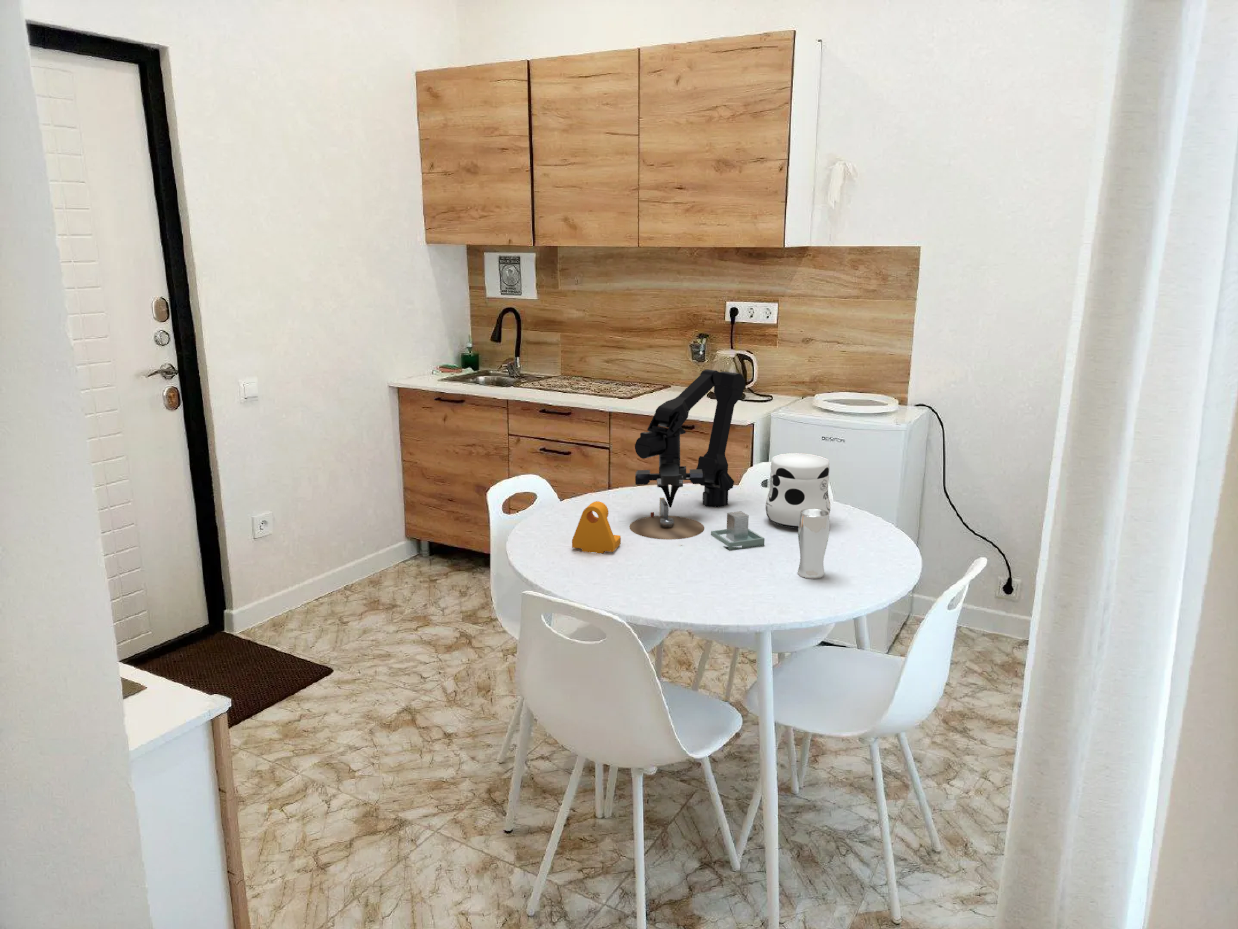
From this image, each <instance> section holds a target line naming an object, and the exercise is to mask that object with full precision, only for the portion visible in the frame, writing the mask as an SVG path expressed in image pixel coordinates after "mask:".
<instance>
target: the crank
mask: <svg viewBox="0 0 1238 929" xmlns="http://www.w3.org/2000/svg"><path fill="white" fill-rule="evenodd" d="M658 514H659V515H658V516H660V517H661V519H660V526H662V527H673V526H674V519H673V518H668V516H669V505H668V502H667V499H666V497H659V512H658Z"/></svg>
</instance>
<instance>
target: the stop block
mask: <svg viewBox="0 0 1238 929" xmlns="http://www.w3.org/2000/svg"><path fill="white" fill-rule="evenodd" d="M726 529H727V533H726V534H725V535H726V538H727V539H729V540H730V541H731V542H736V541H743V540H748V529H749V515H748V514H747V513H745V512H743V511H742V510H739V511H733V512H732V511H731V512H726Z"/></svg>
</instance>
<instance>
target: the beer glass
mask: <svg viewBox="0 0 1238 929" xmlns="http://www.w3.org/2000/svg"><path fill="white" fill-rule="evenodd" d="M797 537H798V538H797V539H798V548H799V557H800V558H799V560H800V561H799V565H798V570H797V574H798V576H799V577H802V578H804V577H805V579H808V578H809V580H817V579H818V578H819V579H822V578H824V577H825V574H826V573H825V565H824V560H825V554H826V549H827V546H828V542H829V539H830V538H829V537H830V514H829V512H828V511H825V510H822V509H815V508H808V509H803V510H801V511H800V517H799V525H798V528H797ZM821 577H822V578H821Z"/></svg>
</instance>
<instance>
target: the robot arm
mask: <svg viewBox="0 0 1238 929" xmlns="http://www.w3.org/2000/svg"><path fill="white" fill-rule="evenodd" d="M745 386H746V379H745V378H744V375H743V374H742V373H738V372H731V371H723V370H722V371H718V370H713V369H709V368H706V369H704V370H702V371H701V373H700V374H699V375H698V376H697V377H696V378H695V379H694V381H692V382H691V383H690V384H689V385H688V386H687V387H686V388H685V389H684V390H683V391H682V392H681V393H680V394H678V395H677V396H676V397H675V398H673V399H670V400H666V401H665V402H663V403H662V404H660V405H658V406H657V407H656V409H655V411H654V415H653V416H652V419H651V421H650V423H649V425H648V427H647V429H646V430H647V432H646V431H642V432H640V436H639V437H638V438H637V439H636V441H635V443H634V450H635V453H636V455H637V456H638V457H639V458H640V459H644V460H645V459H649V458H653V457H657V456H658V473H651V470H650V469H637V470H636V471H635V477H634V479H635V480H634V482H635V483H634V484H635V485H637V486H639V485H641V486H646V485H648V484H649V483H650V482H651V481H656V483H657V484H656V487H657V488H661V490H662V491H663V493H664V496H665V500H666V502H667V504H668V509H669V508H672V506H673V503H674V500H675V497H676V494H677V492H678V490H679V489H680V488H683V487H684V481H690V483H691V484H692V485H700V486H702V487H704V490H703V492H702V506H704V507H706V508H724V507H726V506H728V505H729V491H731V489H733V488H734V484H735V480H734V479H733V478H732V477H731V475H730V474H729V473H728V472H729V471H728V470H729V463H728V460H727V457H726V451H727V444H728V439H729V435H730V430H731V424H732V419H733V416H734V415H733V414H734V411H735V409H734V408H735V405H736V404H737V403H738V402H739V400H740V399H741V398H742V397H743V393H744V390H745ZM712 389H713V393H714V397H715V399H716V405H715V406H716V407H715V411H714V415H713V416H714V417H713V422H712V427H711V433H710V437H709V442H708V447H707V451H706V453H705V454H704V455H703V456H702V455H700V456H698V460H697V466H696V468H695V469H692V468H691V469H689V472H687V465H686V466H685V465H681V435H684V434H686V433H687V432H686V430H685V429H684V428H682V426H683V425H684V423H686V421H687V420H688V418H689V413H690V411H691V409H692V408H693V407H694V406H695V405H697V403H699V402H700V400H701V399H702V398H704V397H705V396H706V395H707V394H708V393H709V392H710V391H711V390H712ZM669 487H670V488H669Z"/></svg>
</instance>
